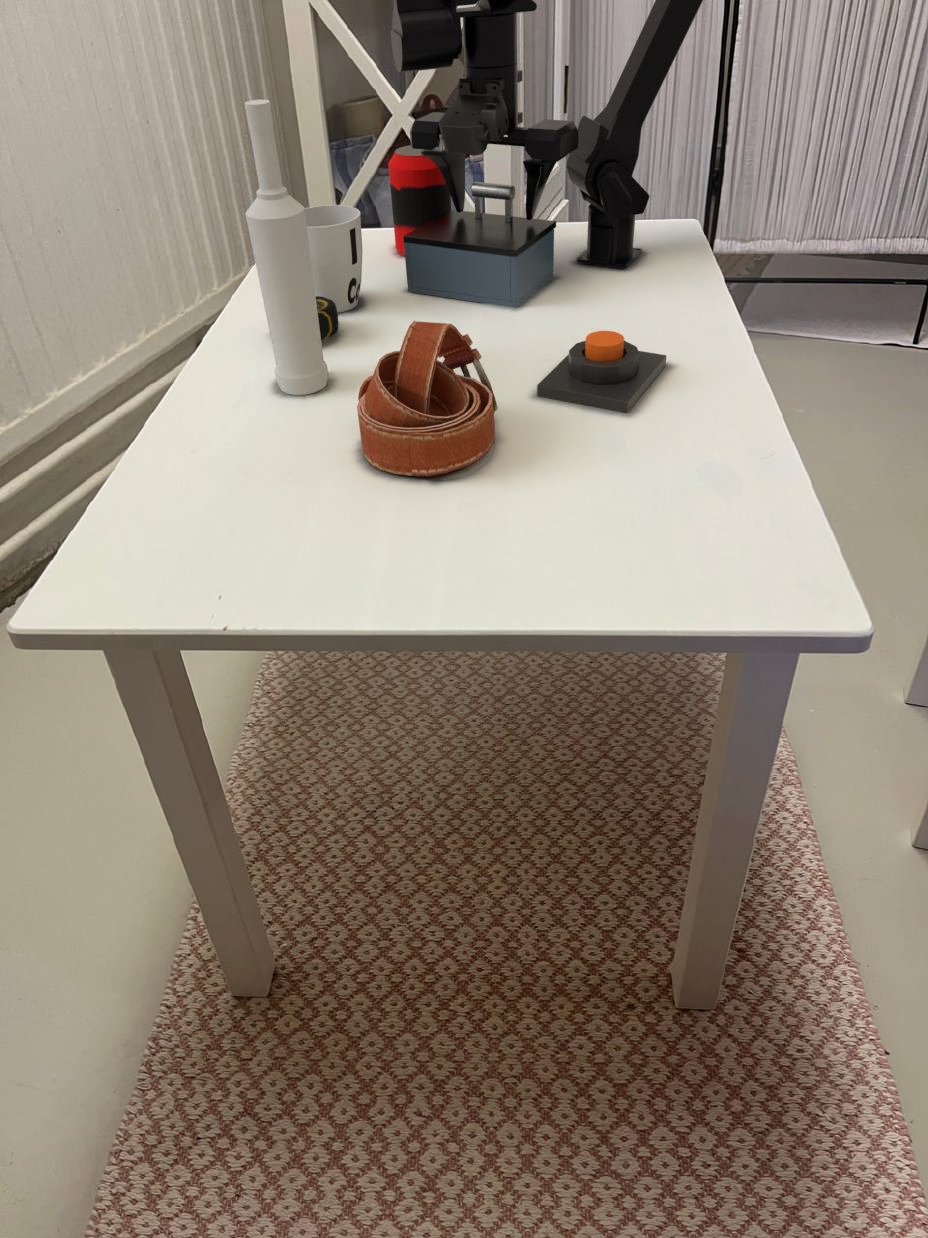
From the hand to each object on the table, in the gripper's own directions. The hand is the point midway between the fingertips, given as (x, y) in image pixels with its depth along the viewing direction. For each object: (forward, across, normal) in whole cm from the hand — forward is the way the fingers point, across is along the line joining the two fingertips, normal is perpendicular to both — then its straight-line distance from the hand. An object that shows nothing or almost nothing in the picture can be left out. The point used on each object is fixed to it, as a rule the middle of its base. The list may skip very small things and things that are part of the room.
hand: (494, 215), depth 110 cm
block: (+7, +23, -23) cm, 33 cm away
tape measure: (+7, -11, -25) cm, 28 cm away
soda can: (+7, -13, +5) cm, 16 cm away
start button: (+4, +23, -23) cm, 33 cm away
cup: (+7, -13, -16) cm, 22 cm away
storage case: (+7, 0, -4) cm, 8 cm away
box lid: (+1, 0, -4) cm, 4 cm away
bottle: (+7, -4, -35) cm, 36 cm away
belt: (+7, +13, -40) cm, 43 cm away
